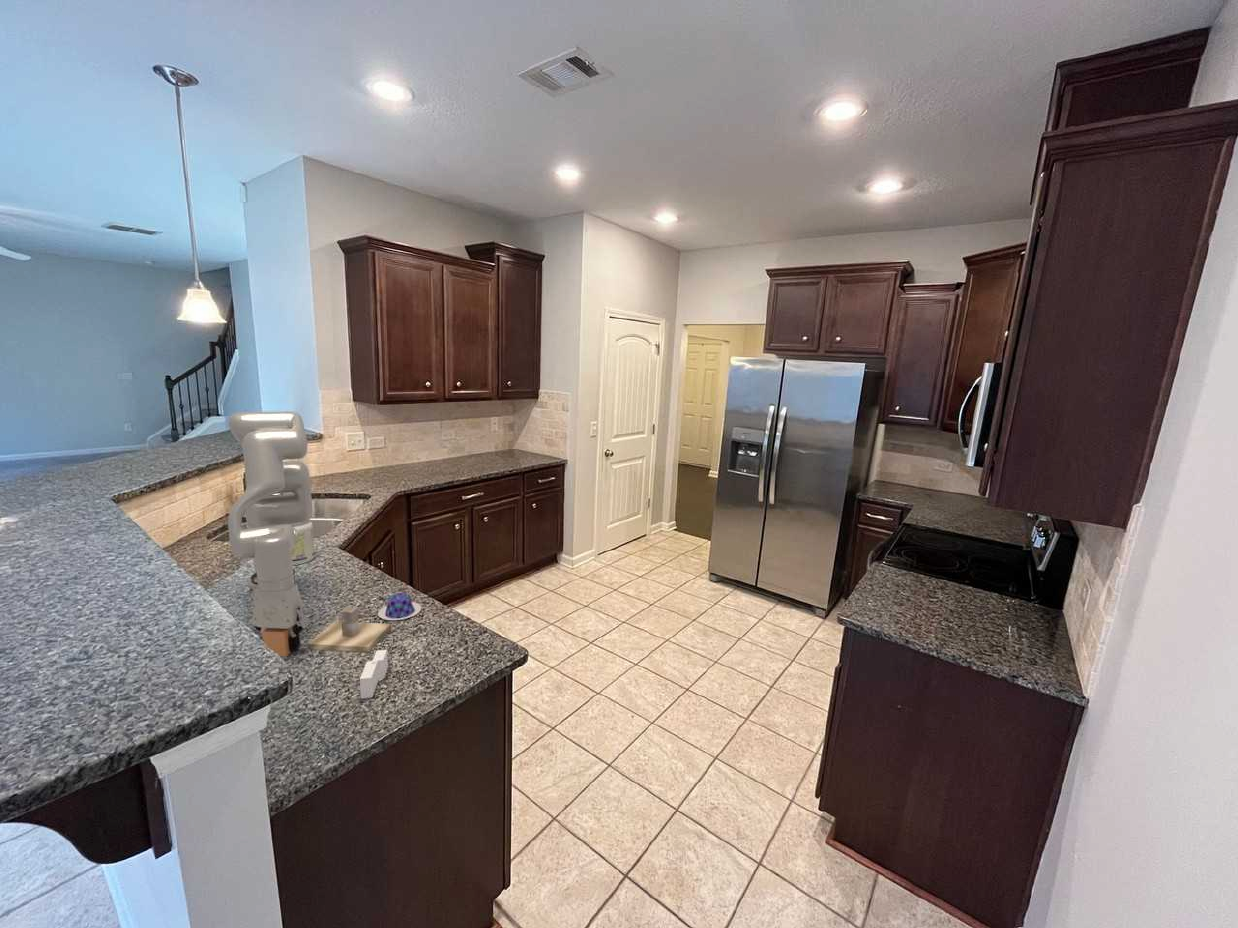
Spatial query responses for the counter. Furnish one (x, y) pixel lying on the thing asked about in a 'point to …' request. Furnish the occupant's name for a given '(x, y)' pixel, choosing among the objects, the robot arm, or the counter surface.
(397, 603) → the pudding
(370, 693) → the white stepped block
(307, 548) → the supplement tub
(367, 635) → the post stand
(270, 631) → the orange block
